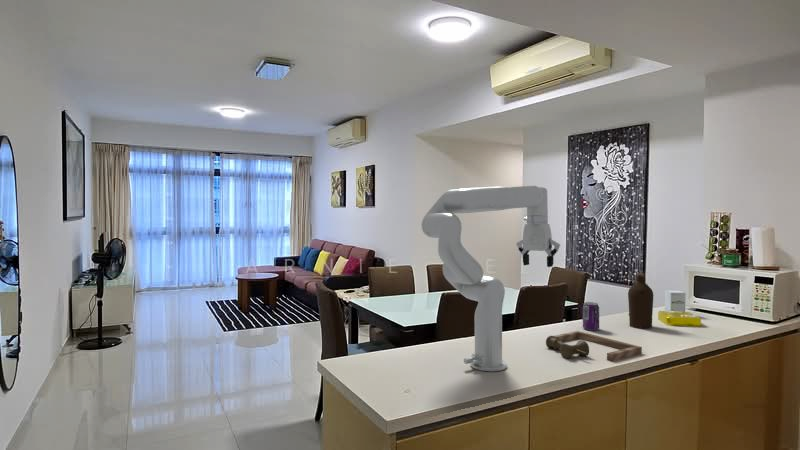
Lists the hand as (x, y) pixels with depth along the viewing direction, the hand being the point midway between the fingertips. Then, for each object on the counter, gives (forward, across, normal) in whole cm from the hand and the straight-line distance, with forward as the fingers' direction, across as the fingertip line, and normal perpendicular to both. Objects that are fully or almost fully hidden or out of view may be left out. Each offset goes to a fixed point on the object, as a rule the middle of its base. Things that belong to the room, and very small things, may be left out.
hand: (537, 265), depth 171 cm
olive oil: (+35, +12, +74) cm, 83 cm away
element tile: (+36, +23, +95) cm, 104 cm away
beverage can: (+35, -2, +53) cm, 63 cm away
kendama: (+35, +7, +9) cm, 36 cm away
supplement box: (+36, +17, +112) cm, 119 cm away
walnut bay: (+34, +11, +24) cm, 43 cm away
